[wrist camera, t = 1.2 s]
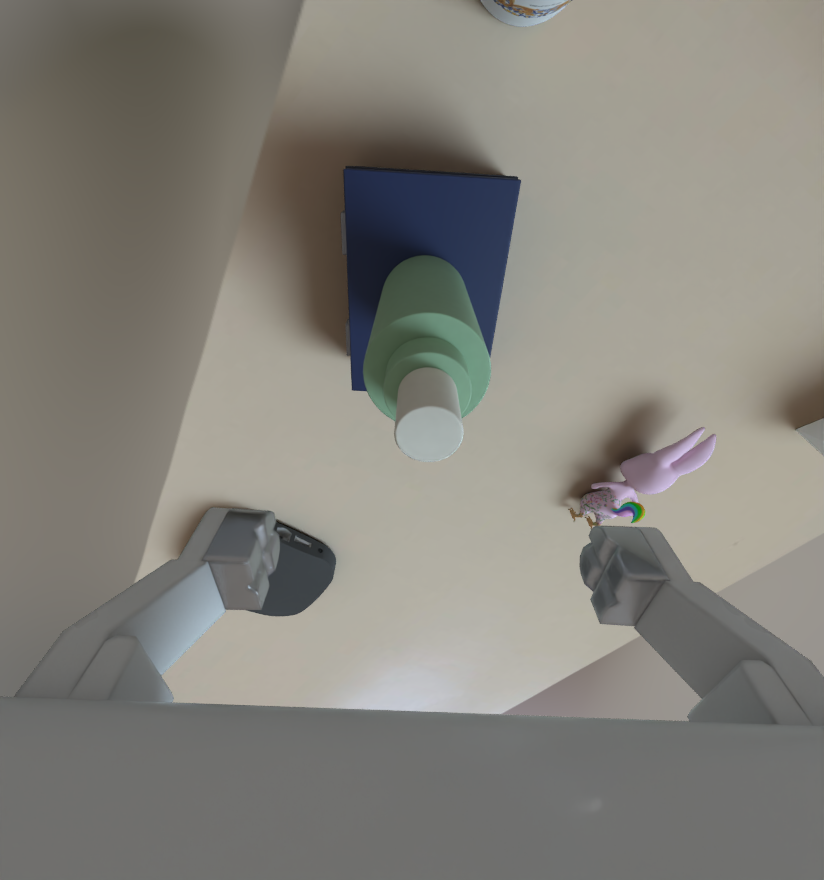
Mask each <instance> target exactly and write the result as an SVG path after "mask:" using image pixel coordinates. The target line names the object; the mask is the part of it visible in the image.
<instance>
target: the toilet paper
mask: <svg viewBox="0 0 824 880" xmlns="http://www.w3.org/2000/svg"><path fill="white" fill-rule="evenodd" d="M796 431H797V432H798V433H799V434H800V435H801V436H802V437H803V438H805V439H806V440H807V441H808V442H809V443H810V444H811V445H812V446H813V447H814V448H815V449H816V450H818V451H819V452H820V453H821V454H822V455H823V456H824V418H822V419H820V420H818V421H815V422H813V423H810V424H808V425H805V426H803V427H800V428H798V429H796Z"/></svg>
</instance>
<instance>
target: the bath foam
mask: <svg viewBox="0 0 824 880" xmlns="http://www.w3.org/2000/svg"><path fill="white" fill-rule="evenodd" d="M480 1H481V2H482V4H483V5H484V7H485V8H486V9H487V10H488V11H489V12H490V13H491V14H492V15H493V16H494V17H495V18H497V19H498V20H500V21H502V22H504V23H506V24H509V25H512V26H518V27H527V26H533V25H537V24H540V23H542V22H544V21H546V20H548V19H550V18H552V17H553V16H555V15H556V14H557V13H559V12H560V11H561V10H562V9H563V8H565V7H566V6H567V5H568V4H569V3H570V2H571V1H572V0H480Z"/></svg>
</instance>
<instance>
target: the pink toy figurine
mask: <svg viewBox="0 0 824 880" xmlns="http://www.w3.org/2000/svg"><path fill="white" fill-rule="evenodd" d="M704 430H705V428H704V427H701V428H699V429H697V430H696V431H694V432H693V433H691V434H690V435H688V436H687V437H685V438H684V439H682V440H680V441H678V442H676V443H674V444H672V445H670V446H667V447H665V448H663V449H661V450H658V451H656V452H655V453H644V454H641V455H638V456H636V457H634V458H631V459H628V460H626V461H624V462H622V464H621V466H620V469H621V472H622V474H623V476H624V477H625V479H626V481H624V482H603V483H594V484H592V485H591V488H592V489H597V488H601V487H609V488H608V489H607V490H603V491H597V492H591V493H588V494H586V495H584V496H583V497H582V499H581V503H580V514H578V515H577V514H575V513H576V512H574V510H573V508H571V509H572V510H571V509H568V510H570V513H571V515H572V518H574V522H575V517H583V516H584V515H585V514H587V513H591V512H594V514H595V517H596V522H594V523H593V522H592V519H591V518H590V517H589V516H588V517H589V518H587V517H585V518H587V521H588V524H589V526H590V527H591V529H592V525H596V526H600V525H601V523H602V522H603V521H604V520H605V519H607V518H608V519H612V518H614V517H616V516H617V515H618V516H622V517H626V516H631V515H633V520H632V522H631V523H635V522H638V521H640V520H641V519H642V518H643V517H644V516H645V509H644V507H643V506H642V505H641V504H639V503H638V498H637V495H636V493H635V492H634V490H636V491H638V492H640V493H643V494H656V493H659V492H662V491H664V490H665V489H667V488H668V487H670V486H671V485H672V484H673V483H674V482H675V480H676V479H677V478H678V477H679V476H680V475H683V474H687V473H690V472H692V471H694V470H696V469H697V468H699V467H700V466H702V465H703V464H704V463H705V462H706V461H707V460H708V459H709V458H710V456H711V454H712V452H713V450H714V447H715V443H716V435H715V434H712V435H711V436H709V437H708V438H707V439H706V440H704V441H703V442H701V443H700V444H698V445H697V446H696V447H694V448H693V449H691V448H692V447H693V446H694V444H695V443H696V442H697V440H698V439H699V437H700V436H701V434H702V433H703V432H704ZM690 449H691V450H690ZM688 450H689V451H688ZM687 451H688V452H687ZM627 497H628V498H630V499H631V500H632V502H627V503H625V504H623V505H622V506H621V507H620V504H621V501H622V500H623V499H624V498H627Z"/></svg>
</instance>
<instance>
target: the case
mask: <svg viewBox="0 0 824 880" xmlns="http://www.w3.org/2000/svg"><path fill="white" fill-rule="evenodd" d="M343 171H344V197H345V210H344V211H343V212H341V230H342V253H343V255H347V275H348V301H349V319H348V320H347V323H346V345H347V355H351V380H352V390H354V391H367V389H366V387H365V383H364V377H363V364H364V359H365V354H366V351H367V347H368V343H369V339H370V335H371V332H372V328H373V324H374V320H375V316H376V313H377V309H378V305H379V301H380V297H381V294H382V290H383V286H384V283H385V281H386V279H387V277H388V275H389V274H390V273H391V271H392V270H393V269H394V268H395V267H396V266H397V265H398V264H400V263H401V262H403V261H404V260H407V259H409V258H411V257H415V256H421V255H429V256H435V257H438V258H441V259H443V260H445V261H447V262H448V263H450V264H451V265H452V266H453V267H454V268H455V269H456V270H457V271H458V272H459V274H460V275H461V277H462V279H463V281H464V284H465V287H466V290H467V293H468V296H469V298H470V301H471V304H472V307H473V310H474V313H475V316H476V319H477V322H478V324H479V327H480V330H481V333H482V336H483V339H484V342H485V345H486V348H487V351H488V353H489V357H490V355H491V350H492V344H493V338H494V332H495V327H496V321H497V315H498V310H499V304H500V298H501V292H502V287H503V281H504V275H505V270H506V264H507V258H508V252H509V247H510V241H511V235H512V229H513V224H514V218H515V212H516V207H517V201H518V195H519V189H520V184H521V180H519V179H518V177H515V176H505V175H489V174H473V173H457V172H441V171H425V170H409V169H393V168H377V167H361V166H346V169H344V170H343Z"/></svg>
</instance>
